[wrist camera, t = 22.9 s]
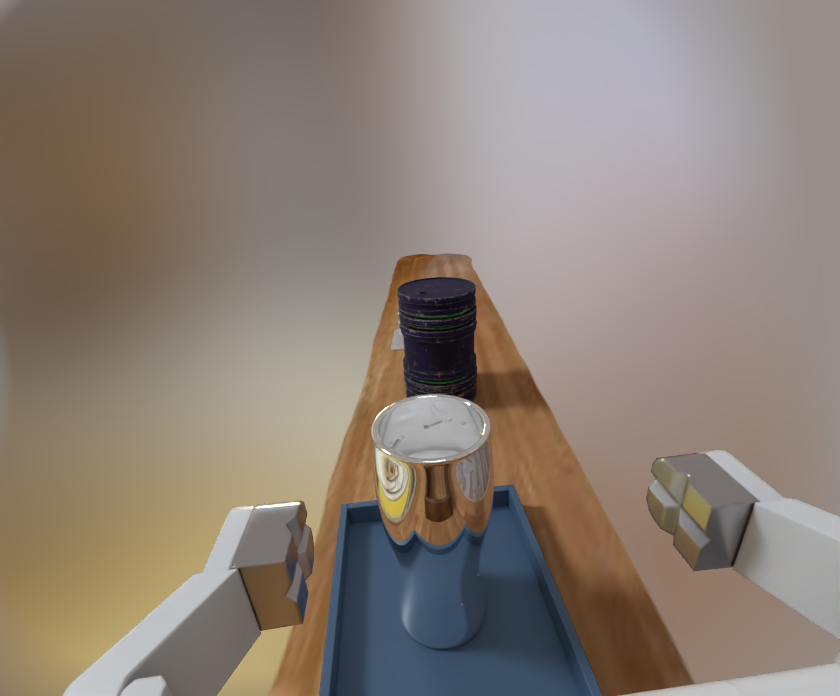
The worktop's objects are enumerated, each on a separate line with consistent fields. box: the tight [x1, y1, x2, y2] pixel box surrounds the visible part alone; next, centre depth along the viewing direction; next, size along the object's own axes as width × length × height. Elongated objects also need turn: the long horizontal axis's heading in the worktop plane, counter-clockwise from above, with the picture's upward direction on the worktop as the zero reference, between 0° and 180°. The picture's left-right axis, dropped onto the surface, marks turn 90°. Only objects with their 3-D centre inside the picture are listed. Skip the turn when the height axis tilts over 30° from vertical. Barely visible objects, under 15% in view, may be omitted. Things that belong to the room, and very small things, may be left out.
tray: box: [319, 485, 603, 696], centre depth 29 cm, size 15×17×2 cm
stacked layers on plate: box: [391, 312, 404, 350], centre depth 75 cm, size 10×9×6 cm
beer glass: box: [372, 394, 494, 649], centre depth 26 cm, size 7×7×15 cm
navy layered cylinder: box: [397, 277, 477, 402], centre depth 54 cm, size 10×10×15 cm
